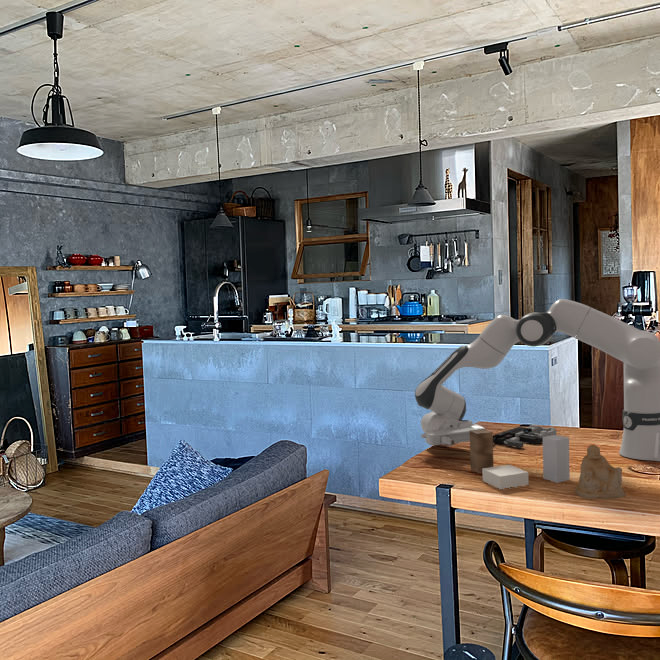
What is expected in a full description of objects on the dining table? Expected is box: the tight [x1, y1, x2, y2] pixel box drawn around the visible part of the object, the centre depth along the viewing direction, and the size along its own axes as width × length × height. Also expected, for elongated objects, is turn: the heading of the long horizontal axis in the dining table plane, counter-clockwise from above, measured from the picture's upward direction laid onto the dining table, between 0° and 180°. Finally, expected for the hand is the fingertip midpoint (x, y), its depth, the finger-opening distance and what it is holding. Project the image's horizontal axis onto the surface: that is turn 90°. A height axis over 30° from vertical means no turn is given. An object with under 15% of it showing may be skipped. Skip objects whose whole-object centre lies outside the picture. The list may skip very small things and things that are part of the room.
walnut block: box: [469, 428, 494, 474], centre depth 200 cm, size 5×5×12 cm
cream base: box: [481, 464, 529, 490], centre depth 187 cm, size 9×9×4 cm
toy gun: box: [492, 424, 557, 449], centre depth 235 cm, size 4×33×15 cm
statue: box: [574, 444, 626, 500], centre depth 176 cm, size 12×14×10 cm
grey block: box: [542, 434, 571, 484], centre depth 189 cm, size 5×5×12 cm
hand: (465, 440), depth 211 cm, fingers open, 8 cm apart
